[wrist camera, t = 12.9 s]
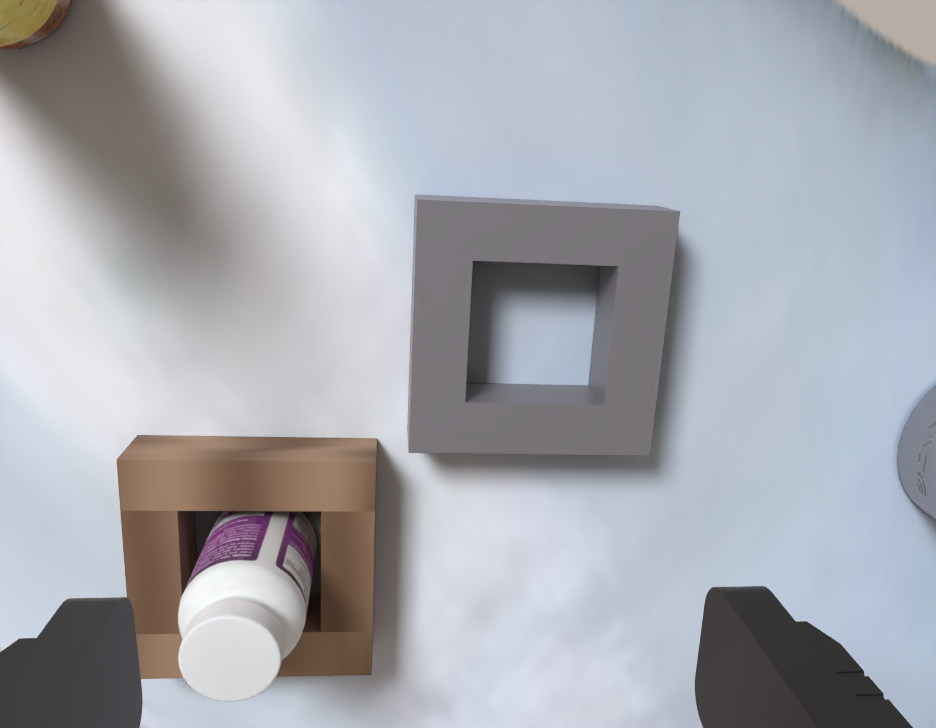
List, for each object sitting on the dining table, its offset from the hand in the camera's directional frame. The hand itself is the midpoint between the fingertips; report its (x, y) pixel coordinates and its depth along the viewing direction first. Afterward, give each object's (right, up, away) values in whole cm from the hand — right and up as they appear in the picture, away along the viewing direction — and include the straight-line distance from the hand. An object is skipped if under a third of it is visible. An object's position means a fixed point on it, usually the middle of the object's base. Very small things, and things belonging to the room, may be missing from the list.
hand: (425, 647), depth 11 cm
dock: (-10, -5, +29) cm, 31 cm away
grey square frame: (+4, +6, +27) cm, 28 cm away
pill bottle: (-10, -5, +29) cm, 31 cm away
